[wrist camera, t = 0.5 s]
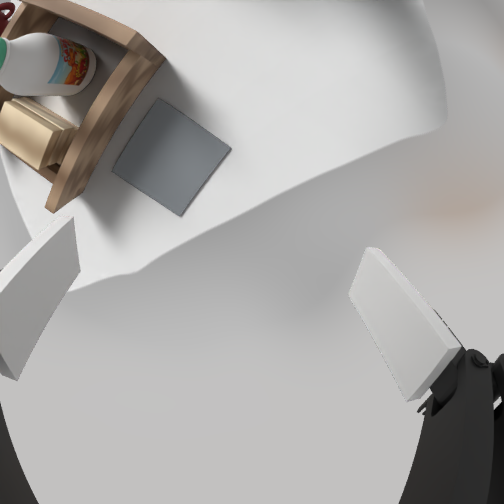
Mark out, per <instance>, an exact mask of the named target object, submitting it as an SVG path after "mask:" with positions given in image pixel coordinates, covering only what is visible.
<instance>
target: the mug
mask: <svg viewBox="0 0 504 504" xmlns="http://www.w3.org/2000/svg"><path fill="white" fill-rule="evenodd" d="M1 10H10V12H9V13H8V14H7V15H5V14H4V13H2V12H1ZM14 11H15V5H14V4H13V3H11V2H6V3H2V4H0V37H1V35H2V33H3V32H4V30H5V28H6V27H7V25H8V23H9V22H8V18H10V17H11V16H12V14H13V13H14Z"/></svg>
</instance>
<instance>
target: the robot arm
mask: <svg viewBox="0 0 504 504" xmlns="http://www.w3.org/2000/svg"><path fill="white" fill-rule="evenodd" d="M79 273H80V265H79V258H78V252H77V244H76V236H75V227H74V217H72V216H59V217H57V218H56V219H55V220H54V221H53V222H52V223H50V224H49V225H48V226H47V227H46V228H45V229H44V230H42V231H41V232H40V233H39V234H38V235H37V236H36V237H35V238H34V239H33V240H32V241H31V242H29V243H28V244H27V245H26V246H25V247H24V248H23V249H22V250H21V251H20V252H19V253H18V254H17V255H16V256H15V257H14V258H13V259H12V260H11V261H10V262H9V263H8V264H7V265H6V266H5V267H4V268H3V269H2V270H0V373H1V374H2V375H3V376H6V377H9V378H11V379H13V380H16V381H18V379H19V377H20V374H21V372H22V370H23V368H24V366H25V364H26V362H27V360H28V358H29V356H30V354H31V352H32V350H33V348H34V347H35V345H36V343H37V341H38V339H39V337H40V335H41V333H42V332H43V330H44V328H45V327H46V325H47V323H48V321H49V320H50V318H51V316H52V314H53V313H54V311H55V310H56V308H57V306H58V305H59V303H60V301H61V300H62V298H63V297H64V295H65V294H66V292H67V291H68V289H69V288H70V286H71V285H72V283H73V282H74V280H75V279H76V277H77V276H78V274H79ZM348 296H349V298H350V299H351V301H352V303H353V304H354V306H355V308H356V309H357V311H358V313H359V315H360V317H361V318H362V320H363V322H364V324H365V325H366V327H367V329H368V331H369V332H370V334H371V336H372V338H373V340H374V341H375V343H376V345H377V347H378V349H379V350H380V352H381V354H382V356H383V358H384V360H385V362H386V363H387V365H388V367H389V369H390V371H391V373H392V375H393V377H394V379H395V380H396V383H397V385H398V387H399V389H400V391H401V392H402V394H403V397H404V399H405V401H406V402H408V401H412V400H415V399H419V398H421V397H422V396H423V395H424V394H425V392H426V391H427V390H428V389H429V388H430V389H431V391H432V394H431V396H430V397H429V398H428V399H427V400H426V401H425V402H424V403H423V404H422V405H421V406H420V407H419V409H418V411H417V412H418V413H419V412H420V411H421V410H422V409H423V408H424V407H426V411H424V412H423V415H425V417H424V421H423V426H422V430H421V435H420V439H419V443H418V446H417V450H416V454H415V457H414V461H413V464H412V467H411V471H410V474H409V477H408V480H407V482H406V486H405V488H404V491H403V493H402V496H401V499H400V501H399V504H504V354H501V355H500V356H499V357H498V359H497V360H496V361H495V363H489V361H488V360H487V359H486V357H485V356H484V355H483V354H482V353H480V352H479V351H477V350H474V349H469V350H467V351H466V350H465V348H464V347H463V346H462V344H461V343H460V342H459V340H458V339H457V338H456V336H455V335H454V334H453V332H452V331H451V330H450V328H448V327H447V325H446V323H445V322H444V321H442V318H441V317H440V316H439V315H438V313H437V312H436V311H435V310H434V309H433V308H432V307H431V306H430V305H429V304H428V303H427V301H426V300H425V299H424V298H423V297H422V295H421V294H420V293H419V292H418V291H417V290H416V288H415V287H414V286H413V285H412V284H411V283H410V282H409V281H408V279H407V278H406V277H405V276H404V275H403V274H402V273H401V271H400V270H399V269H398V268H397V267H396V266H395V265H394V264H393V263H392V262H391V261H390V260H389V258H388V257H387V256H386V255H385V254H384V253H383V252H382V251H381V250H380V249H379V248H371V247H366V249H365V252H364V255H363V257H362V260H361V263H360V266H359V268H358V271H357V273H356V276H355V278H354V281H353V284H352V286H351V289H350V291H349V293H348ZM500 396H501V399H502V402H501V403H500V404H499V405H498V406H497V407H496V408H495V410H494V407H493V403H494V402H495V401H496V400H497V399H498V398H499V397H500ZM0 504H39V503H38V502H37V500H36V498H35V496H34V494H33V492H32V490H31V488H30V485H29V483H28V481H27V479H26V477H25V475H24V472H23V470H22V468H21V465H20V463H19V460H18V458H17V455H16V452H15V450H14V447H13V444H12V442H11V438H10V436H9V432H8V429H7V426H6V422H5V419H4V415H3V411H2V407H1V404H0Z"/></svg>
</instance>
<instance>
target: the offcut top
mask: <svg viewBox="0 0 504 504" xmlns="http://www.w3.org/2000/svg"><path fill="white" fill-rule="evenodd" d="M61 132H62V129H61V128H59V127H57V126H56V125H54V124H53V123H51V122H49V121H48V120H46V119H44V118H43V117H41V116H40V115H38V114H36V113H35V112H33V111H31V110H30V109H28V108H26V107H25V106H23V105H21V104H20V103H18V102H17V101H5V102H4V105H3V107H2V110H1V113H0V144H2V145H3V146H5V147H6V148H7V149H9V150H10V151H11V152H13V153H14V154H16V155H17V156H19V157H20V158H21V159H23V160H24V161H26V162H27V163H29V164H30V165H31V166H33V167H34V168H36V169H37V170H39V169H42V168H44V167H46V166H48V164H49V161H50V158H51V156H52V153H53V151H54V148H55V146H56V144H57V141H58V139H59V137H60V135H61Z"/></svg>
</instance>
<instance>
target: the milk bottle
mask: <svg viewBox="0 0 504 504" xmlns="http://www.w3.org/2000/svg"><path fill="white" fill-rule="evenodd" d="M95 69H96V58H95V55H94V53H93V52H92V50H90V49H89V48H87V47H85V46H83V45H80V44H78V43H75V42H73V41H70V40H67V39H64V38H61V37H58V36H55V35H51V34H47V33H31V34H27V35H24V36H22V37H19V38H17V39H14V40H10V41H9V40H8V39H6V38H1V37H0V85H1V86H2V87H3V88H4V89H5V90H7V91H8V92H10V93H12V94H15V95H21V96H69V95H74V94H77V93H78V92H80V91H82V90H83V89H84V88H85V87H86V86H87V85H88V84H89V82H90V81H91V79H92V78H93V76H94V73H95Z"/></svg>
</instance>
